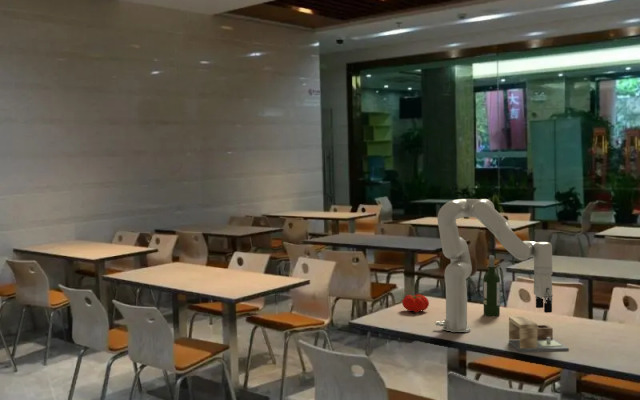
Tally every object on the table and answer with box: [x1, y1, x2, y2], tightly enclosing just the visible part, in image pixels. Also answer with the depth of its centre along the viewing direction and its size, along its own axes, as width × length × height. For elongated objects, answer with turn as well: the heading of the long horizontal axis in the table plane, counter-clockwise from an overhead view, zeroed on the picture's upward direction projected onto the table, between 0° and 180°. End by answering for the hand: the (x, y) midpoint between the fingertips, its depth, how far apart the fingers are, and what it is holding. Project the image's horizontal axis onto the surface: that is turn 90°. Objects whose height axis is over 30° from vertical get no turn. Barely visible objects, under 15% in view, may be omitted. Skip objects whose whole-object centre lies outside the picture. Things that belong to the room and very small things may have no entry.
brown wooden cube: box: [537, 324, 554, 339], centre depth 290 cm, size 6×6×6 cm
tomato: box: [401, 293, 430, 313], centre depth 346 cm, size 14×13×9 cm
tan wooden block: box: [508, 316, 538, 349], centre depth 278 cm, size 7×14×10 cm, turn 2°
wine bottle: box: [483, 255, 501, 317], centre depth 337 cm, size 8×8×30 cm
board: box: [508, 337, 570, 353], centre depth 279 cm, size 20×14×4 cm
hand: (543, 310), depth 289 cm, fingers open, 9 cm apart
